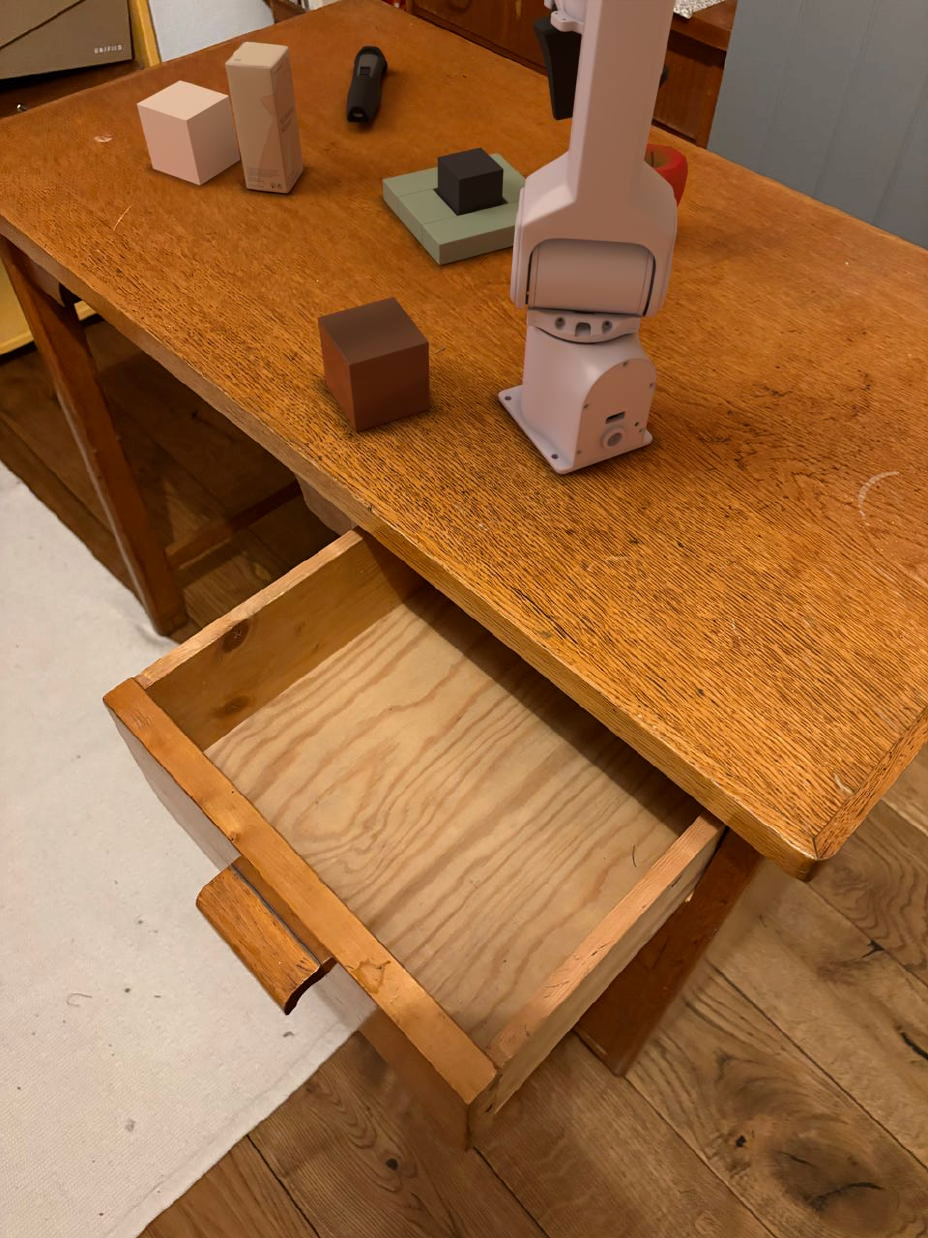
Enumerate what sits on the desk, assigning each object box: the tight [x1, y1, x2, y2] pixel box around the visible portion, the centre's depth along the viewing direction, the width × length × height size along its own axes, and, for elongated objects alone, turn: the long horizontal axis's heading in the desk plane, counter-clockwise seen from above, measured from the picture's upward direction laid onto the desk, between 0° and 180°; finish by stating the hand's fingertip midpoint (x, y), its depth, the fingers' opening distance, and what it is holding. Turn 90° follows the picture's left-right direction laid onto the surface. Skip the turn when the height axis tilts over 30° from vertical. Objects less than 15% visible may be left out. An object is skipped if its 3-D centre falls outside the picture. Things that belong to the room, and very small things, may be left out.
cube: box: [317, 296, 431, 433], centre depth 66 cm, size 6×6×6 cm
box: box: [225, 41, 304, 194], centre depth 83 cm, size 5×4×11 cm
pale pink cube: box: [136, 79, 241, 186], centre depth 87 cm, size 6×6×6 cm
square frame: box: [382, 152, 526, 266], centre depth 83 cm, size 12×12×2 cm
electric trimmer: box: [345, 45, 389, 124], centre depth 97 cm, size 4×16×3 cm, turn 178°
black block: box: [437, 147, 504, 216], centre depth 82 cm, size 4×4×5 cm
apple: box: [644, 143, 689, 208], centre depth 80 cm, size 6×6×8 cm
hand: (587, 136), depth 74 cm, fingers open, 7 cm apart
